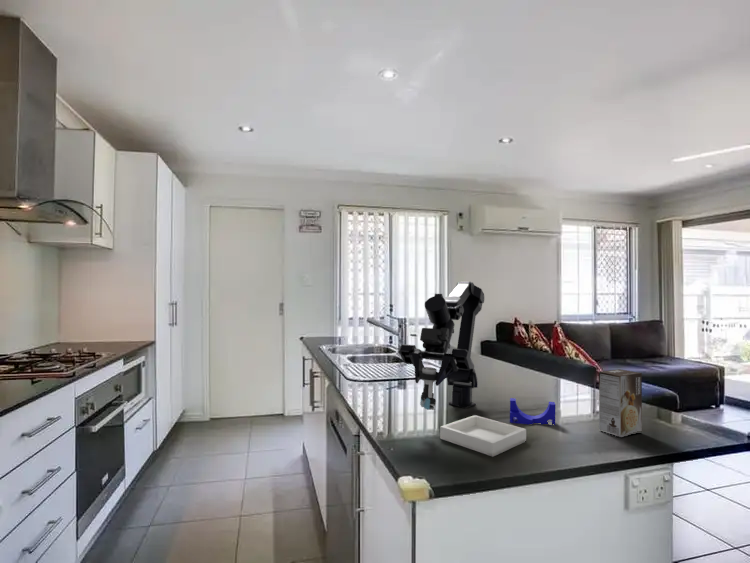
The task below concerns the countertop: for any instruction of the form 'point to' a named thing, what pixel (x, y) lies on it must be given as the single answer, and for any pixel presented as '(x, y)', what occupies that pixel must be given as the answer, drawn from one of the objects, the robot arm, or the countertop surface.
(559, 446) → the countertop surface
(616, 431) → the coffee box
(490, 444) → the tray
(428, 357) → the robot arm
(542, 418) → the blue u-shaped cradle
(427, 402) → the push button
